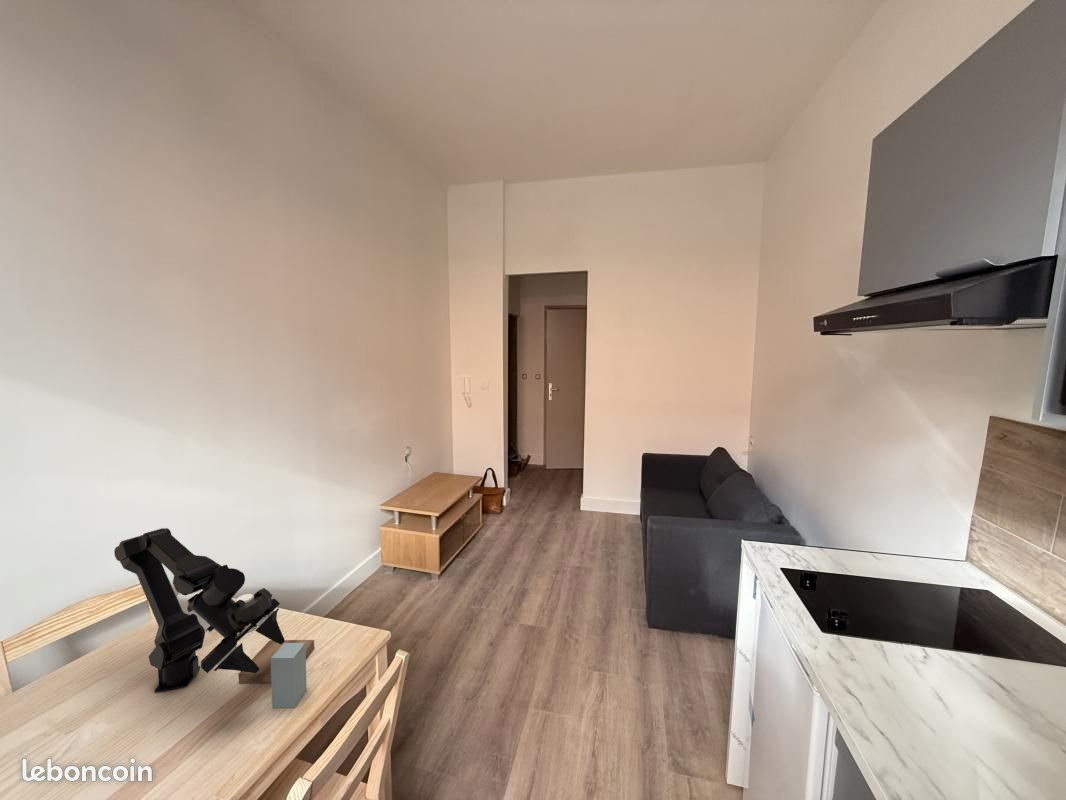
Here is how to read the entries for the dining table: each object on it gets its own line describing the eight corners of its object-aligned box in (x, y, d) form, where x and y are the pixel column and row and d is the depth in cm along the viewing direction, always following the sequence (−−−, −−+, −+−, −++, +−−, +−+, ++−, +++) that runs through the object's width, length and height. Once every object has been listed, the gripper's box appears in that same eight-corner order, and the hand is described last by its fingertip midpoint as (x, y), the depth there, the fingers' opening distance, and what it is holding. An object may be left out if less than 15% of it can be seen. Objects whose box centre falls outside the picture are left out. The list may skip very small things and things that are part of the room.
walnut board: (238, 683, 96) (238, 673, 96) (270, 649, 108) (269, 640, 108) (288, 682, 96) (288, 672, 96) (314, 648, 108) (314, 639, 108)
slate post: (272, 708, 89) (270, 658, 88) (285, 690, 94) (284, 642, 93) (294, 708, 89) (293, 657, 88) (306, 690, 94) (305, 642, 93)
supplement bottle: (245, 636, 113) (243, 603, 112) (229, 633, 114) (228, 601, 113) (261, 624, 118) (260, 593, 117) (246, 622, 119) (245, 591, 118)
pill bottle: (183, 641, 110) (181, 590, 109) (173, 631, 114) (171, 582, 113) (218, 626, 117) (216, 578, 116) (207, 617, 121) (205, 570, 120)
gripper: (212, 611, 80) (269, 661, 81) (270, 566, 98) (316, 608, 99) (175, 648, 80) (232, 698, 81) (240, 597, 99) (286, 638, 100)
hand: (271, 656), depth 90 cm, fingers open, 9 cm apart
